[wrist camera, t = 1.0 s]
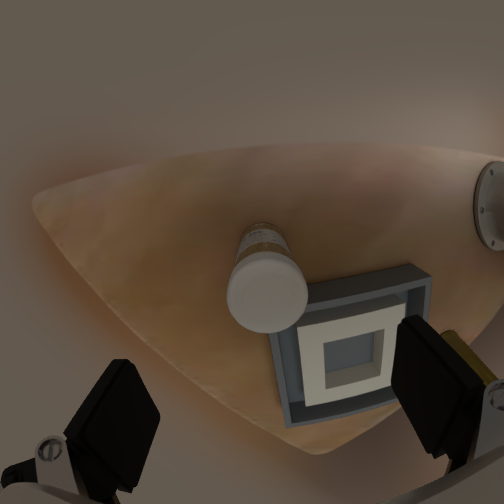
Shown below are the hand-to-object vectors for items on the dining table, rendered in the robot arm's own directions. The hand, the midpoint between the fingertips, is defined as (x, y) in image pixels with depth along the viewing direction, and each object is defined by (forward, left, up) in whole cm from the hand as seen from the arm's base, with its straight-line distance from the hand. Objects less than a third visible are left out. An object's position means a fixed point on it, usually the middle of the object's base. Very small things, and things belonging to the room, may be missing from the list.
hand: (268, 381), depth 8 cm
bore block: (-8, +14, -20) cm, 26 cm away
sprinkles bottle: (0, 0, -20) cm, 20 cm away
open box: (-8, +14, -20) cm, 26 cm away
